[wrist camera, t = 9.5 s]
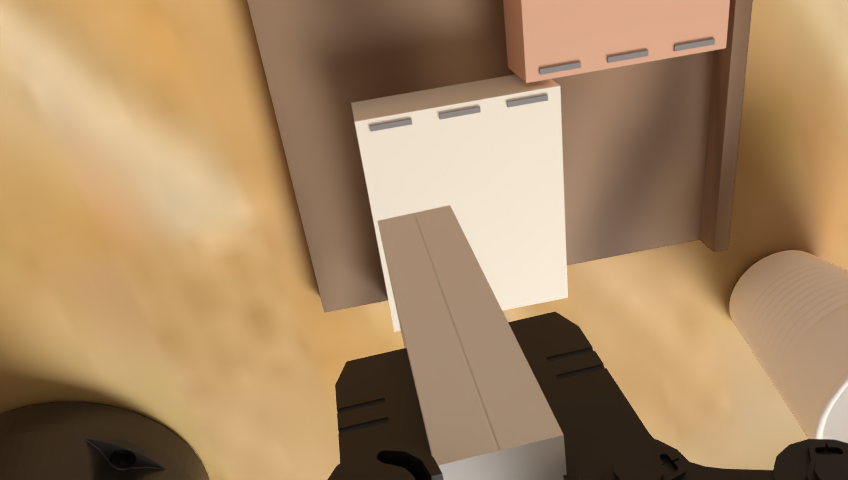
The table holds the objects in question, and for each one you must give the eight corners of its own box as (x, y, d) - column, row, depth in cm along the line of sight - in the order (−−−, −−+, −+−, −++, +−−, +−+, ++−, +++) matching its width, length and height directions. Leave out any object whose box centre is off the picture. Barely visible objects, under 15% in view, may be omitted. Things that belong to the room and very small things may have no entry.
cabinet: (508, 67, 31) (526, 83, 28) (499, -48, 28) (519, -43, 26) (691, 35, 31) (727, 48, 29) (697, -80, 29) (737, -78, 26)
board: (324, 300, 36) (324, 328, 34) (244, -26, 28) (237, -20, 26) (702, 227, 38) (728, 249, 35) (726, -102, 30) (762, -103, 27)
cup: (717, 220, 38) (856, 330, 28) (870, 215, 39) (1052, 317, 30) (681, 360, 42) (790, 495, 33) (819, 350, 44) (963, 477, 34)
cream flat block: (388, 300, 36) (394, 333, 33) (351, 102, 30) (354, 122, 28) (549, 268, 36) (568, 298, 33) (539, 70, 31) (561, 86, 28)
